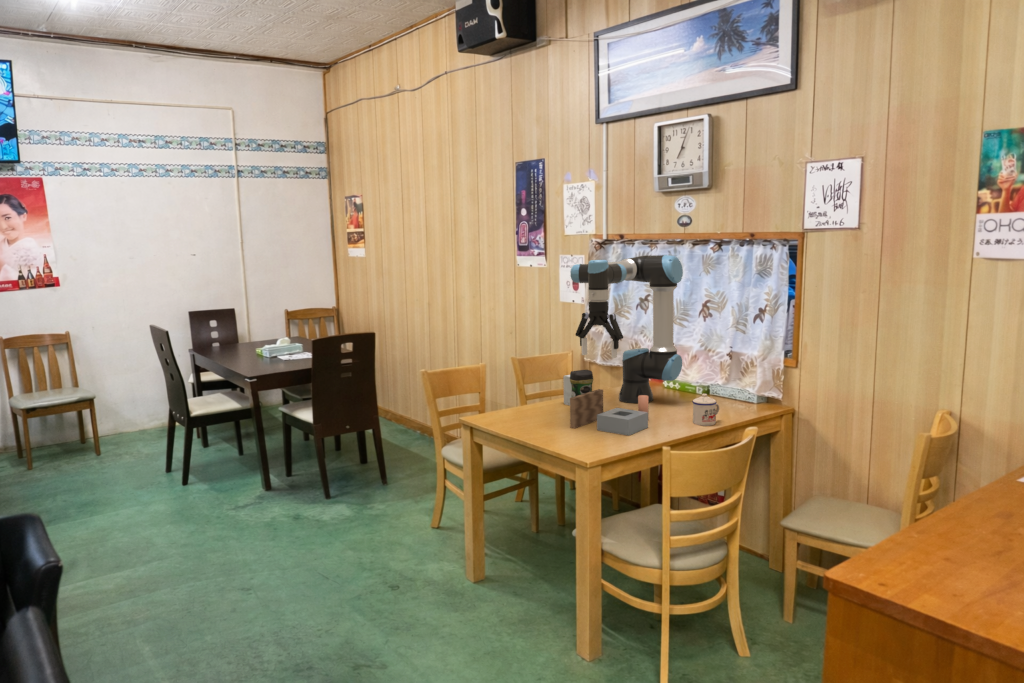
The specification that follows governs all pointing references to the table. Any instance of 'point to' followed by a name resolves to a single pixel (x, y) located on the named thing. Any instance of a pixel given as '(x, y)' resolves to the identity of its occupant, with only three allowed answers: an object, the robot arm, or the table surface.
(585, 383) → the coffee jar
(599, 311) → the robot arm
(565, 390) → the small box
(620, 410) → the socket block
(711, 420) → the teacup with lid
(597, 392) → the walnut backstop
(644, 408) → the dowel
